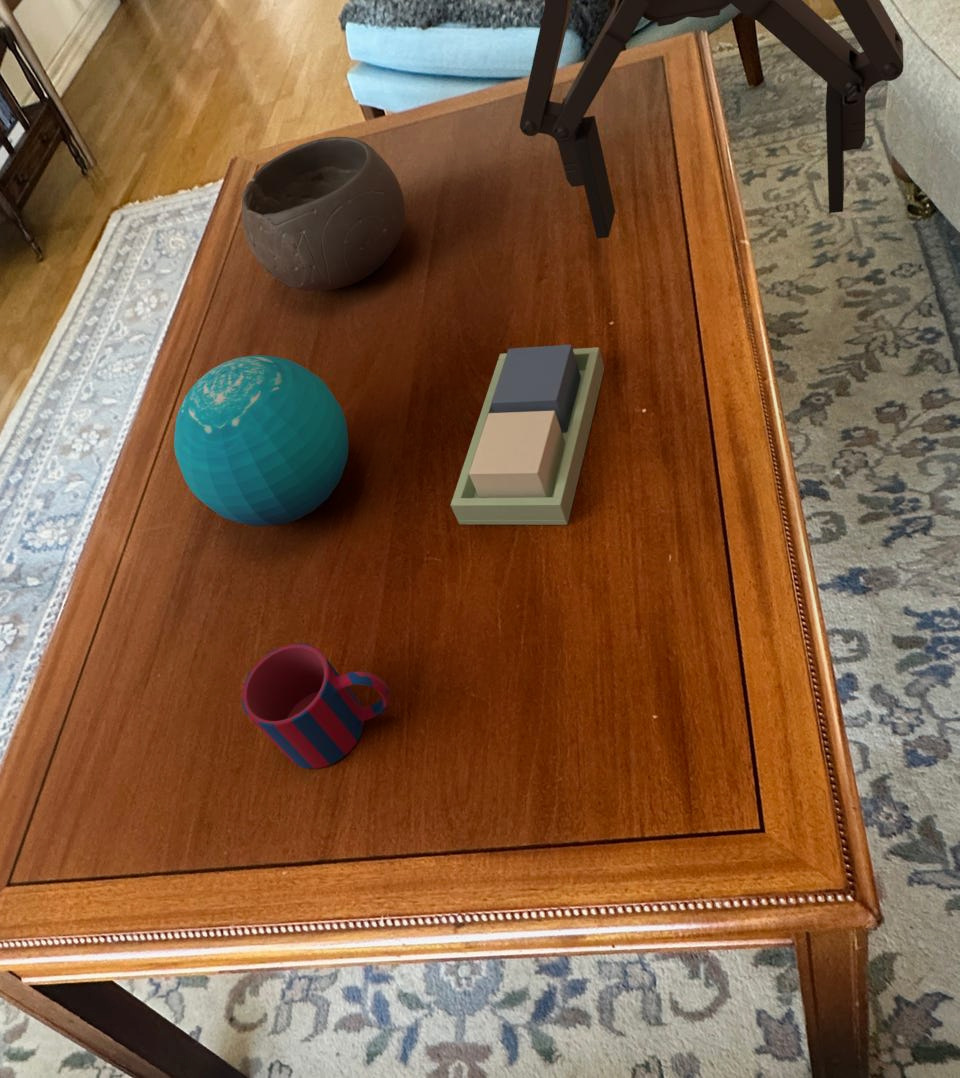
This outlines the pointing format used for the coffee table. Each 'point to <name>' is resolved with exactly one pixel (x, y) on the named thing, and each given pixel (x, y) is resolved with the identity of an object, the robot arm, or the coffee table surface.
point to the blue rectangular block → (538, 382)
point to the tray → (560, 503)
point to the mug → (309, 704)
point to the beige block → (518, 455)
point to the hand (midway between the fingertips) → (716, 212)
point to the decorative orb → (261, 440)
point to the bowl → (323, 214)
